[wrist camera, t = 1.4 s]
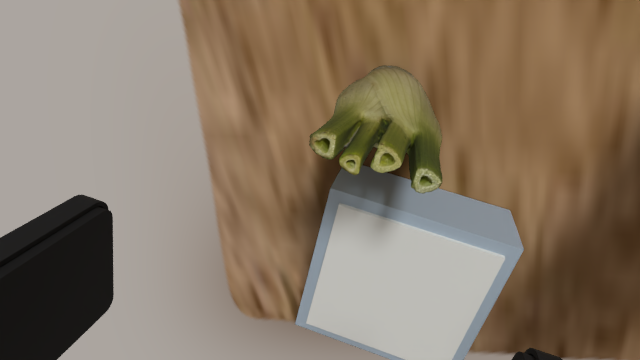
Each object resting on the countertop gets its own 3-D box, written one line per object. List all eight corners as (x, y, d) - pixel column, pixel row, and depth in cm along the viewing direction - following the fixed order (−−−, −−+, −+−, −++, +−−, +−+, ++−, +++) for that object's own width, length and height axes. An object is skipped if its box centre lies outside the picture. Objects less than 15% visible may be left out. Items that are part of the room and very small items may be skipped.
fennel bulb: (450, 107, 27) (460, 180, 16) (395, 155, 29) (372, 246, 19) (388, 43, 26) (356, 75, 16) (336, 97, 29) (278, 156, 18)
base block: (510, 210, 29) (524, 252, 24) (449, 331, 34) (451, 385, 29) (345, 159, 30) (329, 189, 26) (312, 283, 36) (293, 327, 31)
